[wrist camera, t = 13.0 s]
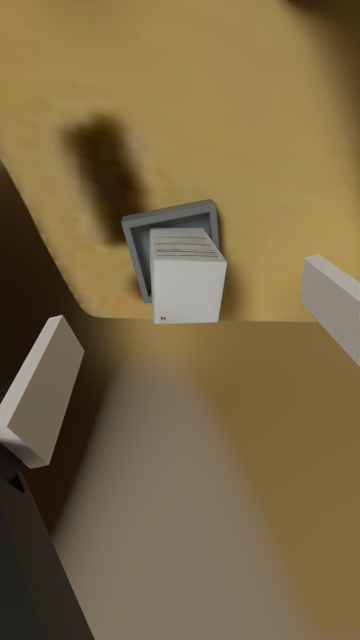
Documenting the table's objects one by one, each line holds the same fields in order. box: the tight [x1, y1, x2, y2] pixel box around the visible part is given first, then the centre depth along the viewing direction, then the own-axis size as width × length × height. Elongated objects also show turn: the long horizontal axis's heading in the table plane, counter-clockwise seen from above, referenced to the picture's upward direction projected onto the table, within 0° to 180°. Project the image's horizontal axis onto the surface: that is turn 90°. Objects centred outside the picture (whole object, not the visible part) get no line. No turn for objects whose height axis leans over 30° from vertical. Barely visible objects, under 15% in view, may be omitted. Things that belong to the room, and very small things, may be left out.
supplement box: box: [150, 227, 227, 324], centre depth 31 cm, size 7×7×13 cm
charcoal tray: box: [121, 199, 219, 303], centre depth 35 cm, size 12×12×3 cm
